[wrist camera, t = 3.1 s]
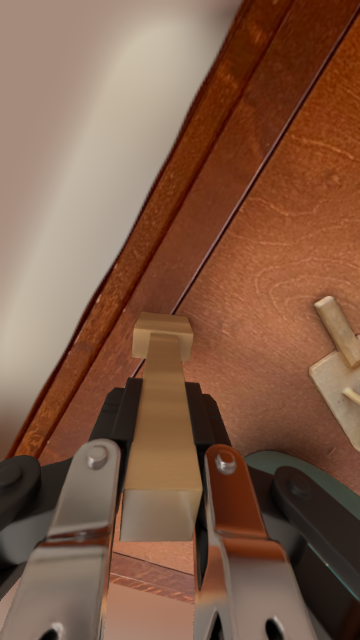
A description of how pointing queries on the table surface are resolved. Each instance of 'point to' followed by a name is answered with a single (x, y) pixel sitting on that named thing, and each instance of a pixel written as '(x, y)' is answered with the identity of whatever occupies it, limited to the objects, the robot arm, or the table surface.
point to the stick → (162, 438)
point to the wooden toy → (340, 370)
